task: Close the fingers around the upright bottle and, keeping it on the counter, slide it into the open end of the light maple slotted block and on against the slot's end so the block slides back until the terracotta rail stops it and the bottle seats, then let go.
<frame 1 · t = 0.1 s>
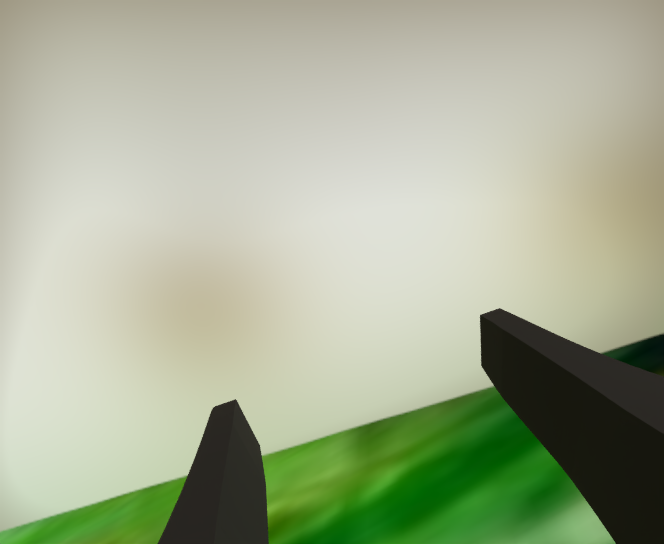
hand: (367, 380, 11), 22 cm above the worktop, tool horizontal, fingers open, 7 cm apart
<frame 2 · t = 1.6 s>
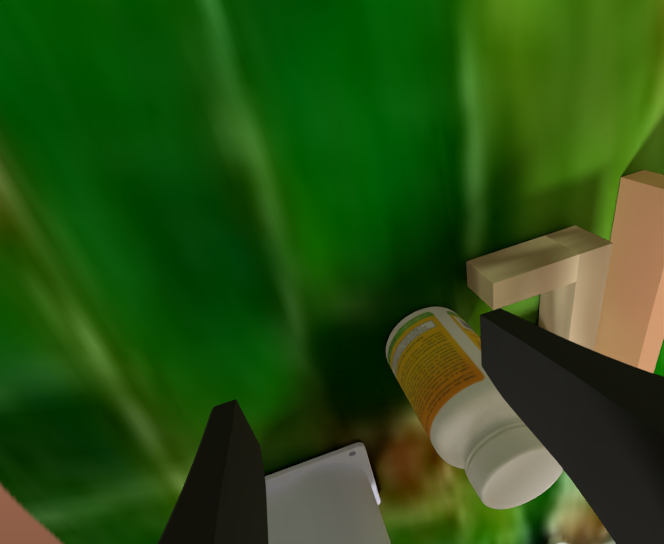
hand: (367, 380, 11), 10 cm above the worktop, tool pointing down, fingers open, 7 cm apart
slot block: (532, 322, 24), point 2 cm above the worktop, slide at 0.0 cm
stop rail: (613, 274, 26), on the worktop
supplement bottle: (422, 337, 25), on the worktop
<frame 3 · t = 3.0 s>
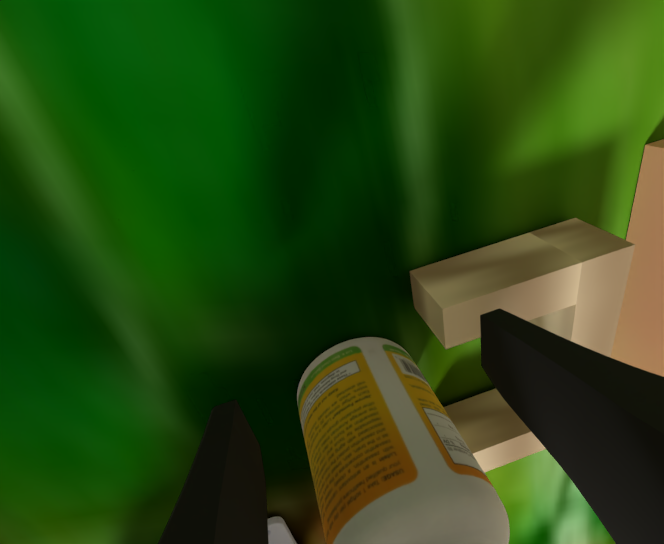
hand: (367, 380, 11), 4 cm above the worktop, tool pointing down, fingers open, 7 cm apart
slot block: (512, 359, 16), point 2 cm above the worktop, slide at 0.0 cm
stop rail: (628, 288, 18), on the worktop
supplement bottle: (354, 379, 17), on the worktop
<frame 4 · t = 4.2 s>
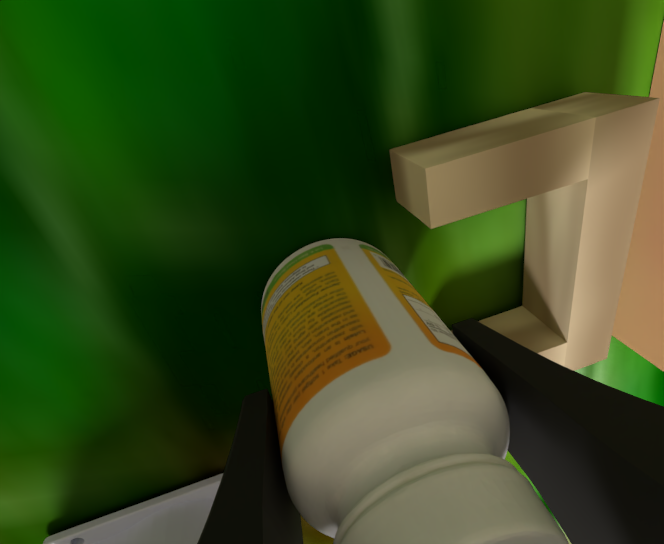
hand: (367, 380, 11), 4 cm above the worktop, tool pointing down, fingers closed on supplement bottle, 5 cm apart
slot block: (511, 267, 14), point 2 cm above the worktop, slide at 0.0 cm
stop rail: (644, 197, 16), on the worktop
supplement bottle: (329, 296, 15), on the worktop, touching gripper
when the fingers open (4 cm above the worktop, at t = 4.6 s): supplement bottle moves 5 cm, on the worktop.
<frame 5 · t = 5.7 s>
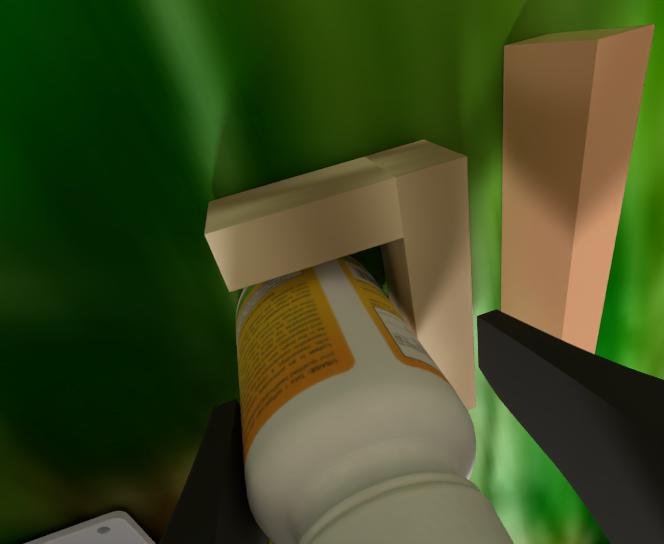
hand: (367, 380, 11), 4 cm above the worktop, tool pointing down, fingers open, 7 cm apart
slot block: (360, 317, 13), point 2 cm above the worktop, slide at 0.0 cm
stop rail: (518, 238, 15), on the worktop
supplement bottle: (307, 305, 15), on the worktop, touching gripper
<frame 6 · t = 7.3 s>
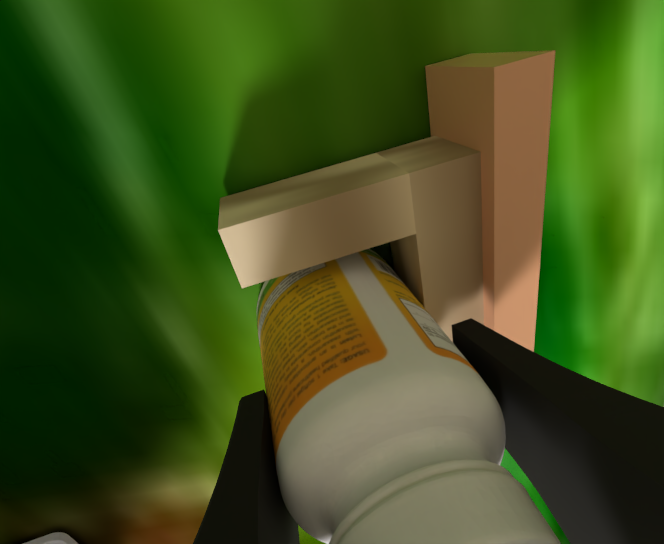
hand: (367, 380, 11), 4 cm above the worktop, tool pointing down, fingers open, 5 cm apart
slot block: (370, 314, 13), point 2 cm above the worktop, slide at 3.0 cm, touching supplement bottle, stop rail
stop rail: (459, 258, 15), on the worktop
supplement bottle: (326, 299, 15), on the worktop, touching gripper, slot block
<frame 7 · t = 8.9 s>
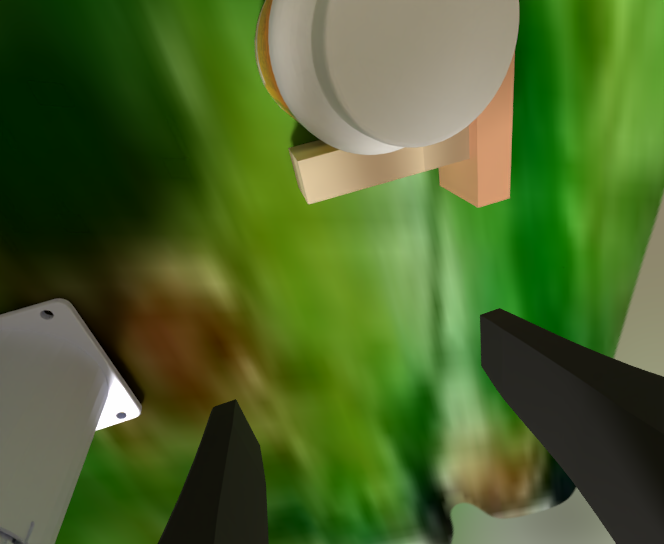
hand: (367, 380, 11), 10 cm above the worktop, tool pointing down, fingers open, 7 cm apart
slot block: (361, 42, 14), point 2 cm above the worktop, slide at 3.0 cm, touching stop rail
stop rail: (446, 20, 16), on the worktop
supplement bottle: (320, 52, 16), on the worktop
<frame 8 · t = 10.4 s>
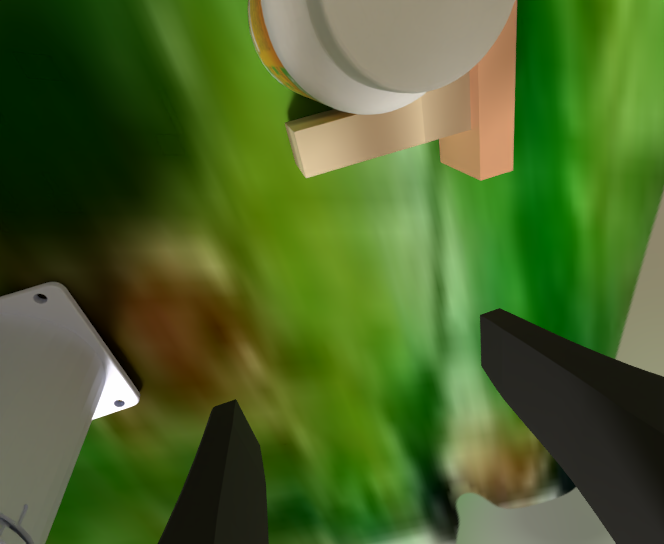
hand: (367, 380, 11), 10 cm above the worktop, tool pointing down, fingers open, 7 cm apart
slot block: (357, 8, 14), point 2 cm above the worktop, slide at 3.0 cm, touching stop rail
supplement bottle: (315, 22, 15), on the worktop
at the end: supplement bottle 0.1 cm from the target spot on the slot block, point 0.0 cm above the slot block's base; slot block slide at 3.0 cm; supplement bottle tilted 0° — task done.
